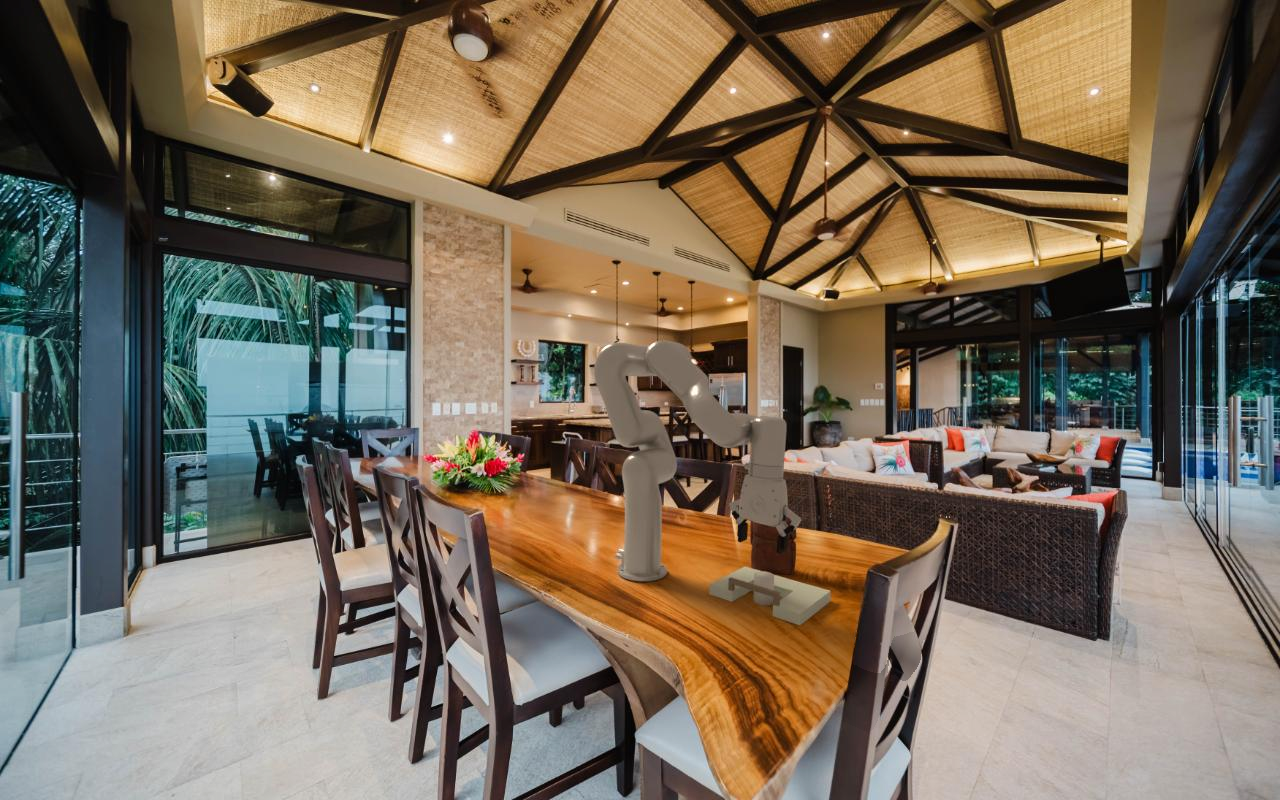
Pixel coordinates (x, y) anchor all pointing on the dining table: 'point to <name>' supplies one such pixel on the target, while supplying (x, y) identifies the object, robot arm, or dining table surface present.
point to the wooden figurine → (771, 549)
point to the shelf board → (774, 594)
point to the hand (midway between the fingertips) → (761, 546)
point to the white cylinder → (767, 582)
